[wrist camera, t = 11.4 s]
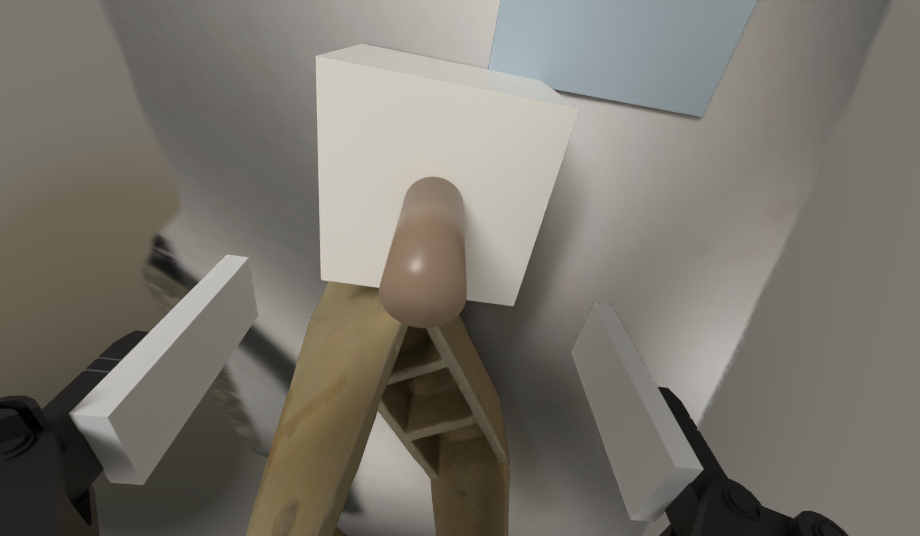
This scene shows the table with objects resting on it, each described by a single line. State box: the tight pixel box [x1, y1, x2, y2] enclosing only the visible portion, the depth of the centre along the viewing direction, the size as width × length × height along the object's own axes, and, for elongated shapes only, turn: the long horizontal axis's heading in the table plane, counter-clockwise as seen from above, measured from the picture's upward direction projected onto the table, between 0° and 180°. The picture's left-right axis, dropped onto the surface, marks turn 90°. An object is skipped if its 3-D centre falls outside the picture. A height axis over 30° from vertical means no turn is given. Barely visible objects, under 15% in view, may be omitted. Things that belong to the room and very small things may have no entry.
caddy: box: [246, 281, 510, 536], centre depth 36 cm, size 29×11×30 cm, turn 21°
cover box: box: [316, 44, 579, 328], centre depth 27 cm, size 15×15×22 cm
